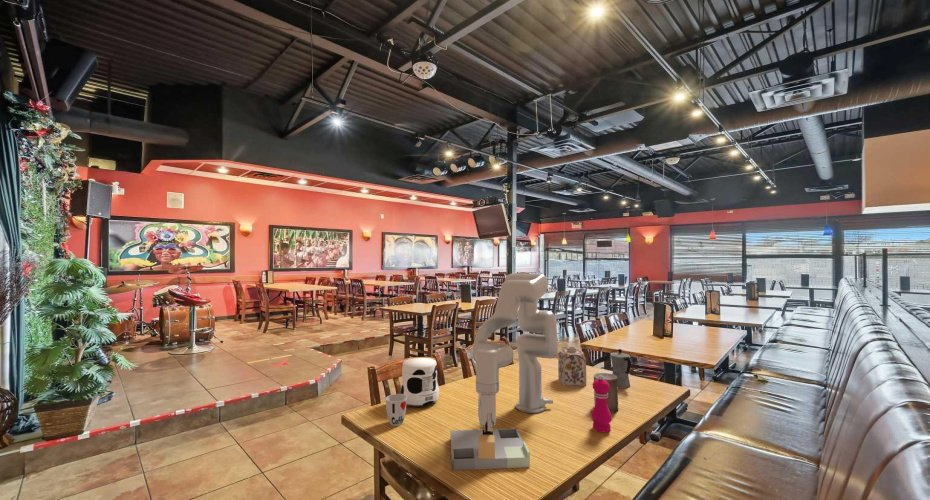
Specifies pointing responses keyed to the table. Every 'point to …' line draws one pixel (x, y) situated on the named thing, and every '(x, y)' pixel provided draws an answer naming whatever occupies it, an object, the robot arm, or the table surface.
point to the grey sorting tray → (506, 450)
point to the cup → (396, 408)
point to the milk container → (420, 381)
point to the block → (486, 447)
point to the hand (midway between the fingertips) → (487, 442)
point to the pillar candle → (610, 390)
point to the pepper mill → (601, 406)
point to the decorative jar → (572, 367)
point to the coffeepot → (621, 368)
